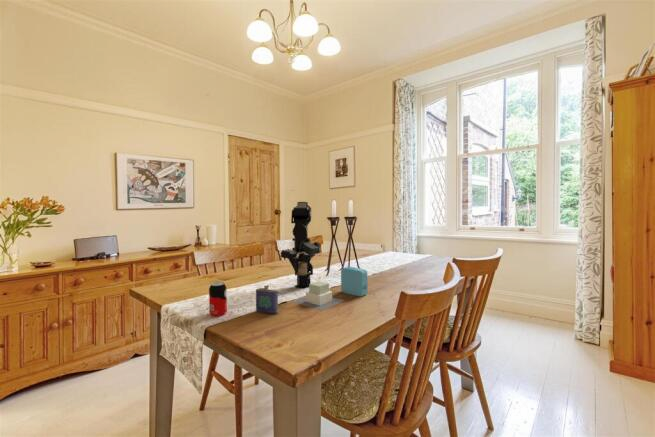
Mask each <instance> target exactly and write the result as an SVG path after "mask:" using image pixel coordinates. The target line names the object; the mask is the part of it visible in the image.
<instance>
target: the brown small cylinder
mask: <svg viewBox="0 0 655 437" xmlns="http://www.w3.org/2000/svg"><path fill="white" fill-rule="evenodd" d="M295 275H296V276H297V275H299V276H302V275H307V262H298V273H295V272H294V276H295Z"/></svg>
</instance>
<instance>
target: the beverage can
mask: <svg viewBox="0 0 655 437" xmlns="http://www.w3.org/2000/svg"><path fill="white" fill-rule="evenodd" d="M225 283H226V282H224V281H214V282H211V283H210V286H209V288H208V300H209V301H208V302H209V303H208V304H209V314H210V315H211V316H212V317H221V315H222V316H224V315H225V314H226V313H227V312H228V303H227V302H228V297H227V296H228V295H227V286H226V284H225Z"/></svg>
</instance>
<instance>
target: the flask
mask: <svg viewBox="0 0 655 437" xmlns="http://www.w3.org/2000/svg"><path fill="white" fill-rule="evenodd" d="M269 287H270V286H269V285H268V284H267V285H264V288H263V287H259V288H256V289H255V312H256V313H259V314H266V315H277V314H278V313H279V302H278V299H279V298H278V296H279V295H278V294H279V291H278V290H277V289H269Z"/></svg>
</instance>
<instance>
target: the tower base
mask: <svg viewBox="0 0 655 437" xmlns="http://www.w3.org/2000/svg"><path fill="white" fill-rule="evenodd" d="M332 297H333V291H331V290H329V292H327V293H324V294H321V295H318V294H314V293H310V292H309V291H306V292H305V298H306V302H309V303H312V304H316V305H319V306H321V305H323V304H325V303H328V302H330V301H332Z"/></svg>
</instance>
